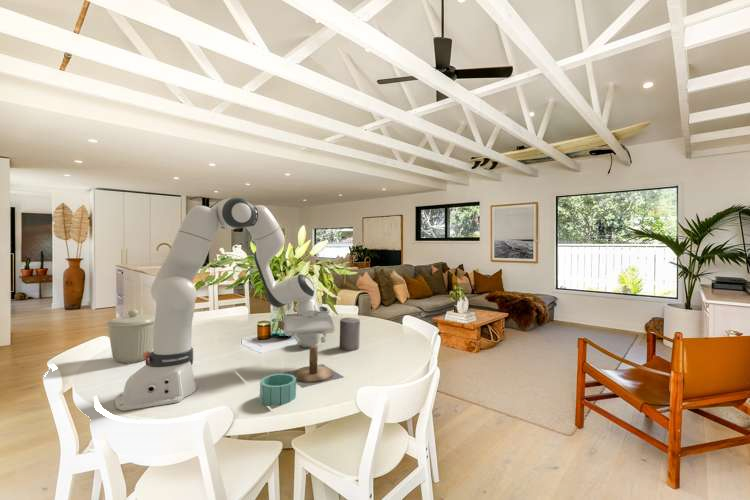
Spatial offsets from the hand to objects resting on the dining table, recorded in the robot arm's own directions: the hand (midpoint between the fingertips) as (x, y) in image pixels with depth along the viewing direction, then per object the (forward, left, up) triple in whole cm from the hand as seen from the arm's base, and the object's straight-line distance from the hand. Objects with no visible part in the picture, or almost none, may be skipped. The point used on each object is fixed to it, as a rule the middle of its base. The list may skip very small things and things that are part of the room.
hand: (311, 342), depth 138 cm
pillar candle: (+29, +18, -11) cm, 36 cm away
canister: (-56, +54, -11) cm, 78 cm away
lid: (-2, -5, -11) cm, 12 cm away
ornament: (+11, +54, -11) cm, 56 cm away
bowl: (-20, -16, -11) cm, 28 cm away
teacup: (+15, +33, -11) cm, 38 cm away
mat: (-2, -5, -11) cm, 12 cm away
